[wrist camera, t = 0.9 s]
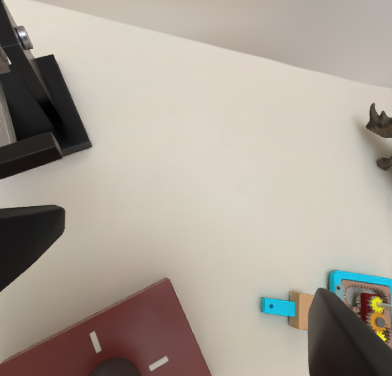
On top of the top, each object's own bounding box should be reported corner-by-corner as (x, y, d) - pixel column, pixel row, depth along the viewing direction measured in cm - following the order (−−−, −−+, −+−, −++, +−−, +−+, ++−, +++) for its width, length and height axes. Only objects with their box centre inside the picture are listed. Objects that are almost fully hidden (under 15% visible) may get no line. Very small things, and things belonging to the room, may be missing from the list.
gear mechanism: (456, 392, 26) (443, 287, 29) (532, 423, 21) (508, 292, 23) (255, 372, 23) (262, 259, 26) (285, 402, 18) (290, 258, 21)
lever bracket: (92, 146, 26) (60, 75, 16) (2, 177, 24) (-97, 115, 14) (56, 62, 28) (9, -47, 18) (-31, 83, 26) (-138, -28, 16)
